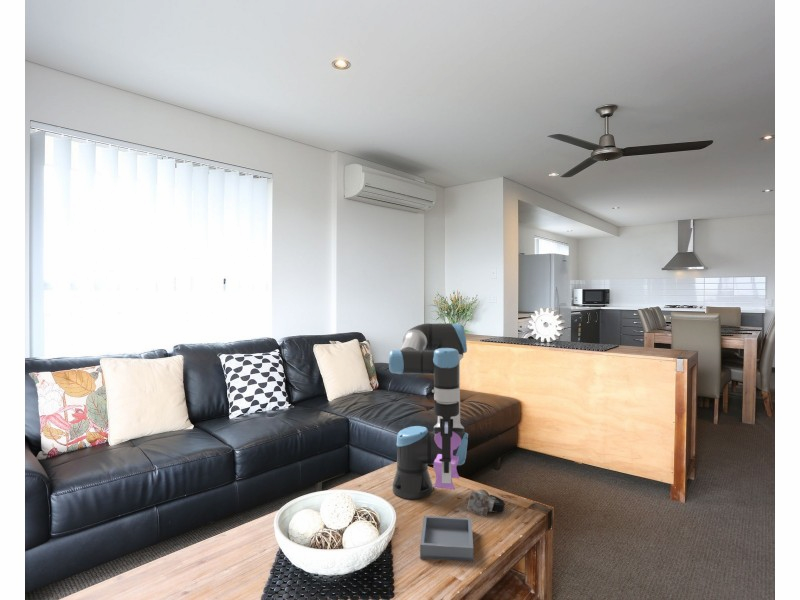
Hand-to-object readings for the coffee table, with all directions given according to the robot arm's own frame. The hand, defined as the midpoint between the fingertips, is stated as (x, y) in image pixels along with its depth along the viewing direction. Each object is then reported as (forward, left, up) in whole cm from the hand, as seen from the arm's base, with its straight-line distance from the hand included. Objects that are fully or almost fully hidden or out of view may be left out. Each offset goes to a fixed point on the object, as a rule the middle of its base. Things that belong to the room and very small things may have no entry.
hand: (446, 475), depth 134 cm
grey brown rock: (-22, +14, -21) cm, 34 cm away
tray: (0, 0, -21) cm, 21 cm away
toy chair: (0, 0, -3) cm, 3 cm away
